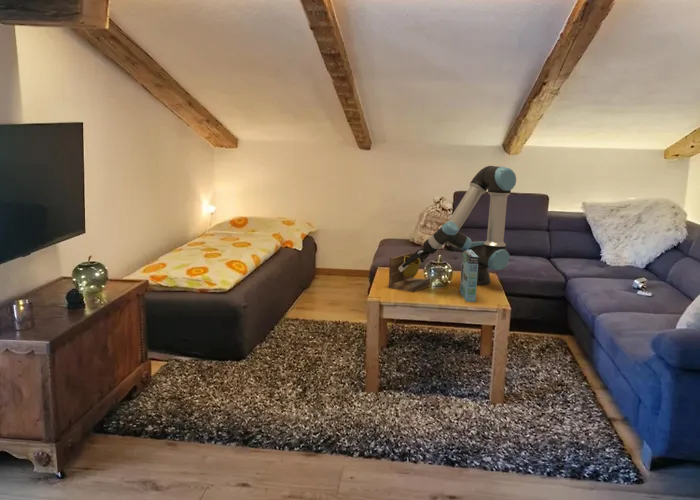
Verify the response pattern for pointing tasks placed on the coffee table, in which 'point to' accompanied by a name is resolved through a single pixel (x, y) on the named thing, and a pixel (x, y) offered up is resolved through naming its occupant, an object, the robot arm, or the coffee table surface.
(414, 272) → the flower pot
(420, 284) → the wooden shelf
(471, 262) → the blue cardboard box
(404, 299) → the coffee table surface
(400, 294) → the coffee table surface
